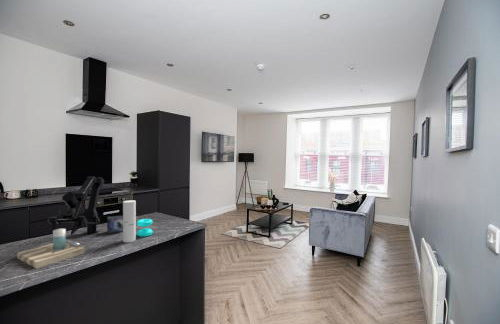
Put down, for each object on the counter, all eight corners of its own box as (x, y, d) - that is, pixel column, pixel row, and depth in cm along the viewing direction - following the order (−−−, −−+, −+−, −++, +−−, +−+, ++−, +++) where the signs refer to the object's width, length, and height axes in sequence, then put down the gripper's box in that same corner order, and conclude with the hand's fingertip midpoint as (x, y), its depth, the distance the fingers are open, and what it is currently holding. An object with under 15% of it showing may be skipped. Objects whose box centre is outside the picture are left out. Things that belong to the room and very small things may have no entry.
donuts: (155, 219, 166) (143, 223, 157) (155, 233, 166) (143, 238, 157) (146, 217, 170) (133, 221, 161) (145, 231, 171) (133, 235, 162)
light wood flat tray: (17, 258, 125) (17, 252, 125) (64, 245, 143) (64, 240, 143) (36, 268, 114) (36, 262, 114) (84, 253, 132) (84, 247, 132)
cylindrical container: (126, 238, 156) (126, 200, 155) (137, 238, 157) (137, 200, 156) (121, 242, 149) (121, 202, 148) (133, 242, 150) (133, 202, 149)
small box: (106, 234, 164) (106, 218, 164) (107, 231, 170) (107, 216, 170) (124, 232, 169) (124, 217, 169) (124, 229, 175) (124, 215, 175)
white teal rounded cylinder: (53, 252, 132) (53, 229, 132) (66, 250, 136) (66, 227, 135) (52, 256, 128) (52, 232, 127) (65, 253, 131) (65, 230, 131)
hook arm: (64, 242, 140) (64, 239, 140) (67, 241, 141) (67, 239, 141) (77, 247, 133) (77, 244, 133) (80, 246, 134) (80, 243, 134)
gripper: (49, 203, 137) (35, 228, 127) (85, 202, 140) (74, 227, 129) (58, 213, 145) (46, 237, 135) (91, 212, 148) (82, 236, 138)
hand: (62, 234), depth 134 cm, fingers open, 9 cm apart
